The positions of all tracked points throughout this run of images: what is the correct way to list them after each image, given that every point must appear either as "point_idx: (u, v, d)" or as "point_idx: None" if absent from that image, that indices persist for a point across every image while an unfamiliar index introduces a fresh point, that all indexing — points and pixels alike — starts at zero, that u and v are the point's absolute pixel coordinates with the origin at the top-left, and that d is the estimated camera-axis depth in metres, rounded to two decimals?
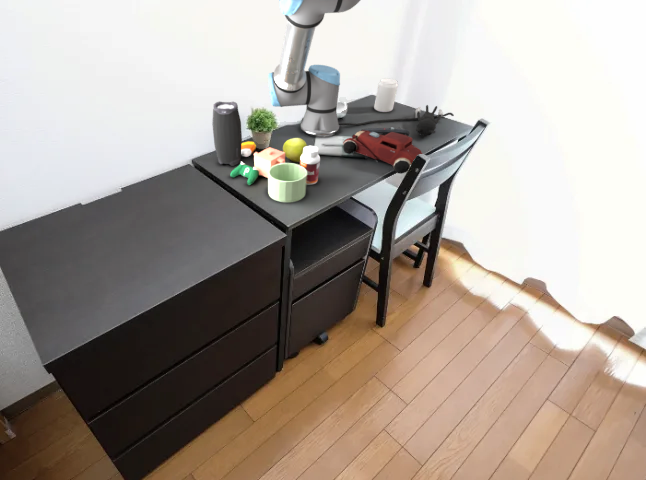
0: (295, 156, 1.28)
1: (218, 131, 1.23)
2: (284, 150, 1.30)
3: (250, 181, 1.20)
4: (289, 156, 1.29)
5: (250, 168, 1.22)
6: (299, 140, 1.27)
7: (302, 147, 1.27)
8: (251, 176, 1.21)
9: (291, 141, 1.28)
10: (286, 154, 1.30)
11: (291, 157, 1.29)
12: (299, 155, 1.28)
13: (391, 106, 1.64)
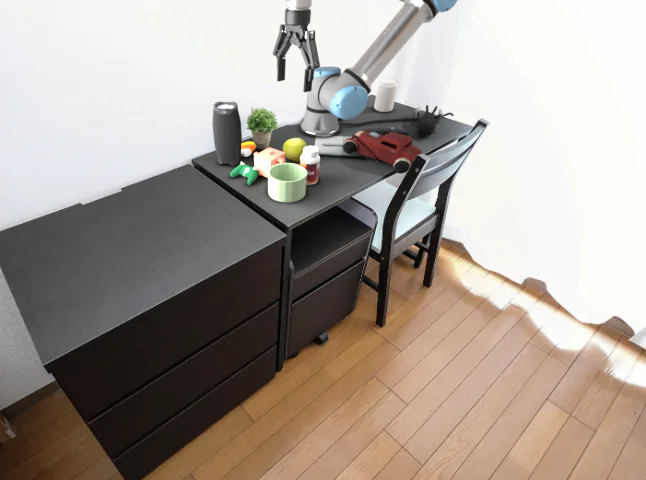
0: (295, 156, 1.28)
1: (218, 131, 1.23)
2: (284, 150, 1.30)
3: (250, 181, 1.20)
4: (289, 156, 1.29)
5: (250, 168, 1.22)
6: (299, 140, 1.27)
7: (302, 147, 1.27)
8: (251, 176, 1.21)
9: (291, 141, 1.28)
10: (286, 154, 1.30)
11: (291, 157, 1.29)
12: (299, 155, 1.28)
13: (391, 106, 1.64)
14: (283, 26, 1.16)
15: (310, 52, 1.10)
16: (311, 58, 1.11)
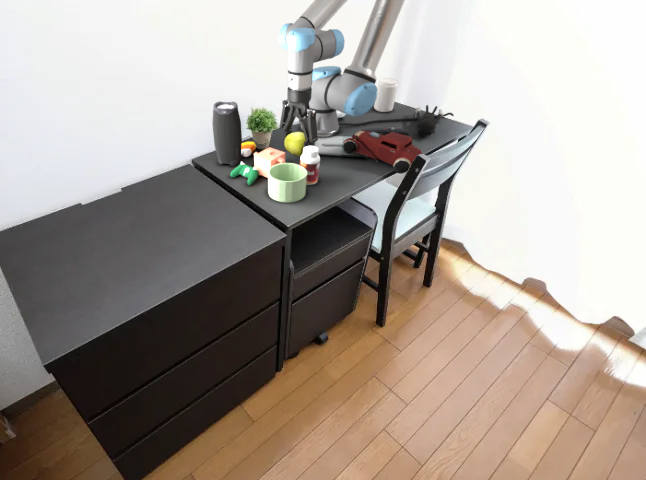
0: (297, 151, 1.27)
1: (218, 131, 1.23)
2: (285, 144, 1.29)
3: (250, 181, 1.20)
4: (291, 150, 1.28)
5: (250, 168, 1.22)
6: (300, 134, 1.26)
7: (304, 141, 1.26)
8: (251, 176, 1.21)
9: (292, 135, 1.27)
10: (288, 148, 1.29)
11: (293, 151, 1.28)
12: (301, 149, 1.27)
13: (391, 106, 1.64)
14: (285, 101, 1.24)
15: (310, 129, 1.20)
16: (310, 134, 1.20)
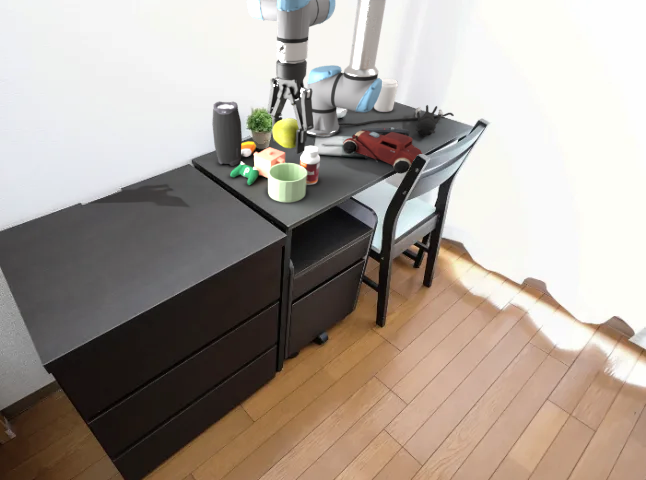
0: (287, 141, 1.03)
1: (218, 131, 1.23)
2: (274, 133, 1.05)
3: (250, 181, 1.20)
4: (280, 141, 1.04)
5: (250, 168, 1.22)
6: (292, 120, 1.02)
7: (296, 129, 1.02)
8: (251, 176, 1.21)
9: (282, 122, 1.02)
10: (276, 138, 1.05)
11: (282, 142, 1.04)
12: (292, 139, 1.03)
13: (391, 106, 1.64)
14: (274, 80, 1.00)
15: (304, 113, 0.95)
16: (305, 120, 0.96)
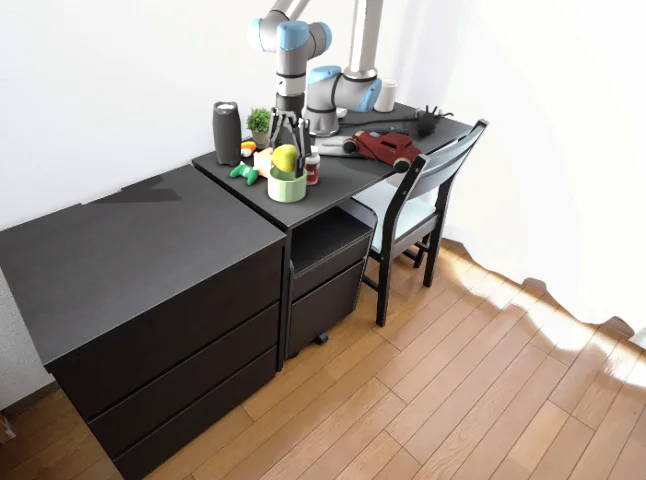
0: (287, 167, 1.08)
1: (218, 131, 1.23)
2: (274, 159, 1.10)
3: (250, 181, 1.20)
4: (280, 166, 1.09)
5: (250, 168, 1.22)
6: (291, 147, 1.07)
7: (295, 155, 1.07)
8: (251, 176, 1.21)
9: (282, 148, 1.07)
10: (276, 164, 1.10)
11: (282, 167, 1.09)
12: (292, 165, 1.08)
13: (391, 106, 1.64)
14: (274, 109, 1.05)
15: (303, 142, 1.00)
16: (303, 148, 1.01)
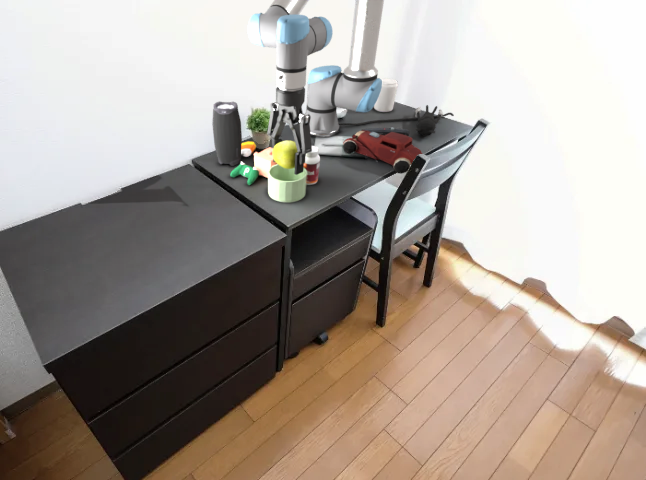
0: (287, 163, 1.07)
1: (218, 131, 1.23)
2: (274, 155, 1.09)
3: (250, 181, 1.20)
4: (280, 162, 1.08)
5: (250, 168, 1.22)
6: (291, 143, 1.06)
7: (295, 151, 1.06)
8: (251, 176, 1.21)
9: (282, 144, 1.07)
10: (276, 160, 1.09)
11: (282, 163, 1.08)
12: (292, 161, 1.07)
13: (391, 106, 1.64)
14: (274, 104, 1.04)
15: (303, 137, 1.00)
16: (303, 143, 1.00)
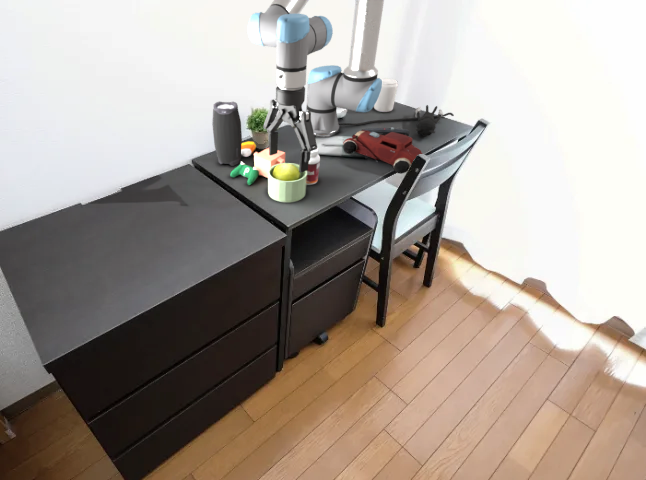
0: None
1: (218, 131, 1.23)
2: (273, 176, 1.15)
3: (250, 181, 1.20)
4: None
5: (250, 168, 1.22)
6: (290, 168, 1.12)
7: (293, 177, 1.11)
8: (251, 176, 1.21)
9: (281, 168, 1.12)
10: None
11: None
12: None
13: (391, 106, 1.64)
14: (274, 101, 1.04)
15: (306, 134, 0.98)
16: (307, 141, 0.99)
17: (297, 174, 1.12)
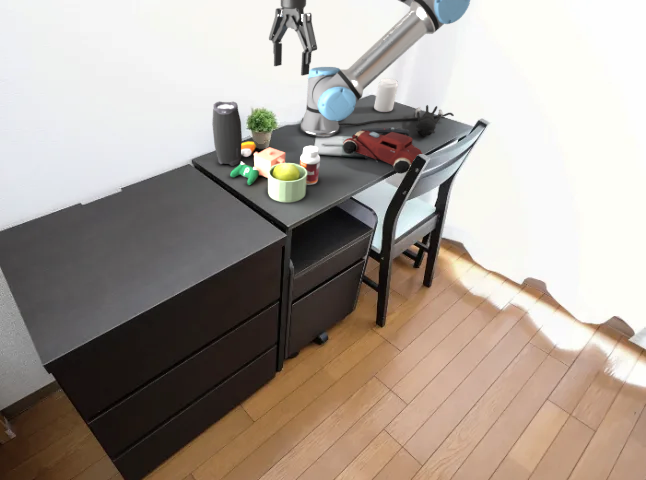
0: None
1: (218, 131, 1.23)
2: (273, 176, 1.15)
3: (250, 181, 1.20)
4: None
5: (250, 168, 1.22)
6: (290, 168, 1.12)
7: (293, 177, 1.11)
8: (251, 176, 1.21)
9: (281, 168, 1.12)
10: None
11: None
12: None
13: (391, 106, 1.64)
14: (279, 10, 1.16)
15: (307, 34, 1.11)
16: (308, 40, 1.12)
17: (297, 174, 1.12)
